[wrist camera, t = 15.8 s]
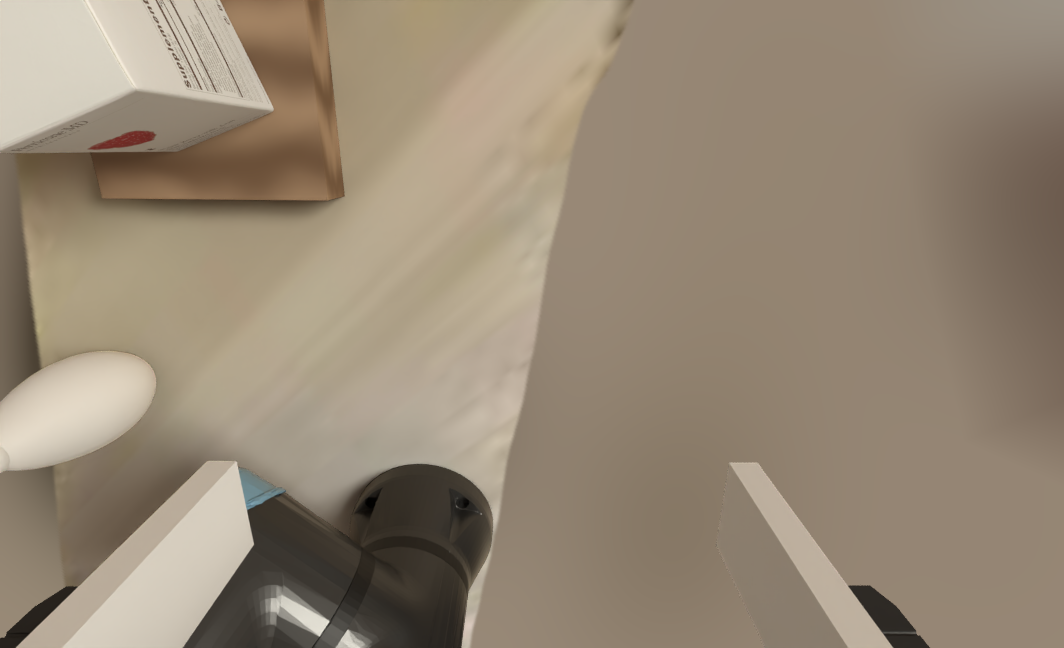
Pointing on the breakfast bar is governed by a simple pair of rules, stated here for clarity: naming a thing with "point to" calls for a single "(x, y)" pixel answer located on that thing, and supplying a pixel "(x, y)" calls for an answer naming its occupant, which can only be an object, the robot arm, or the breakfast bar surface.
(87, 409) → the white teardrop-shaped piece
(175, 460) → the breakfast bar surface
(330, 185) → the walnut riser
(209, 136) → the supplement box
